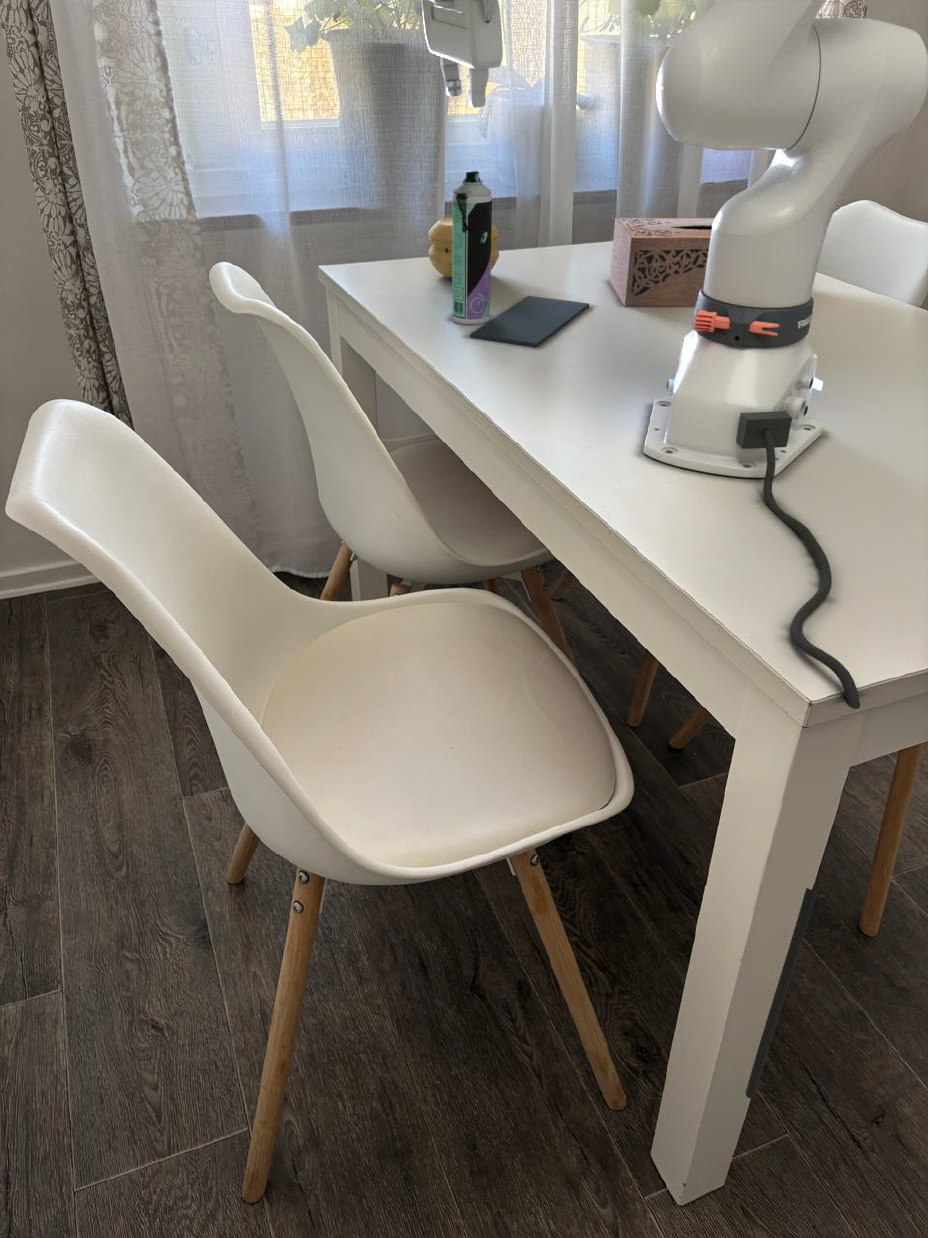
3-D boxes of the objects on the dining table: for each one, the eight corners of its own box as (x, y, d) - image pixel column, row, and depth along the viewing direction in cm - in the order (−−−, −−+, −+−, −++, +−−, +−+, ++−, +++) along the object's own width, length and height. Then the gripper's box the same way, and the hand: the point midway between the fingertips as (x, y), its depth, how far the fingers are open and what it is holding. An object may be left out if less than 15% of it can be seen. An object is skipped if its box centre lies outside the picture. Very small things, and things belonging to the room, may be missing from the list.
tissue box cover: (763, 281, 162) (774, 217, 157) (790, 305, 150) (803, 237, 145) (609, 281, 161) (615, 217, 156) (624, 306, 149) (631, 237, 144)
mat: (536, 347, 132) (536, 343, 132) (469, 337, 136) (469, 333, 135) (589, 306, 149) (589, 303, 149) (528, 298, 152) (528, 295, 152)
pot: (431, 266, 169) (430, 205, 163) (498, 268, 168) (500, 206, 163) (426, 284, 159) (425, 219, 154) (498, 285, 159) (499, 220, 153)
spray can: (486, 325, 140) (488, 174, 129) (448, 322, 141) (448, 173, 130) (492, 314, 145) (495, 168, 134) (456, 312, 146) (457, 166, 135)
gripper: (514, -27, 109) (516, 110, 118) (458, -34, 125) (463, 87, 133) (461, -22, 108) (467, 116, 116) (411, -31, 124) (419, 91, 132)
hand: (465, 100), depth 125 cm, fingers open, 8 cm apart
